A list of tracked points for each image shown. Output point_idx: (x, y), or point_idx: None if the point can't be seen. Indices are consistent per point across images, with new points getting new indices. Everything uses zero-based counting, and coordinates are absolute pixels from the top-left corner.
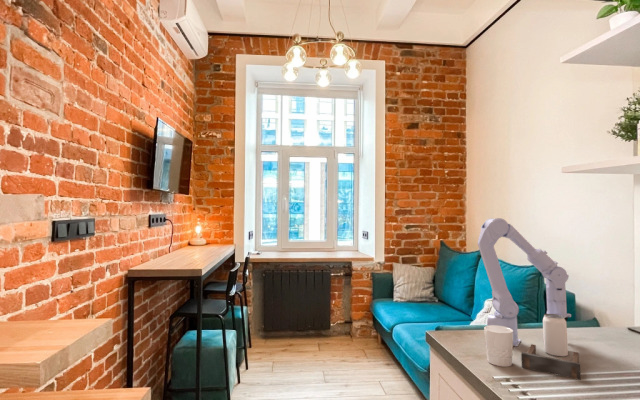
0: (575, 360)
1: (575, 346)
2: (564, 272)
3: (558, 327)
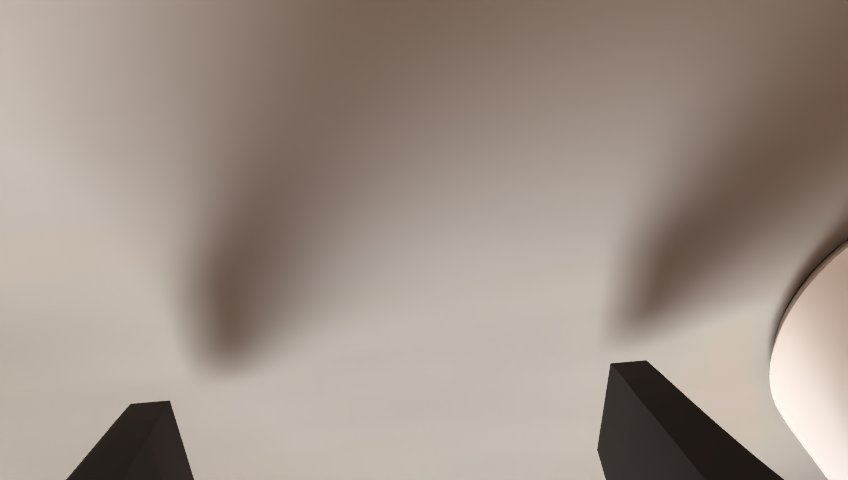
0: None
1: (291, 123)
2: None
3: None
